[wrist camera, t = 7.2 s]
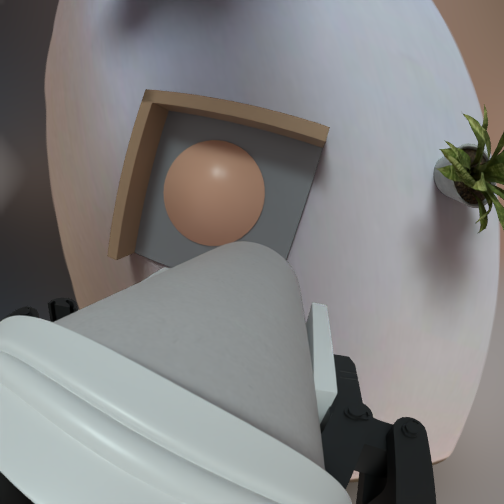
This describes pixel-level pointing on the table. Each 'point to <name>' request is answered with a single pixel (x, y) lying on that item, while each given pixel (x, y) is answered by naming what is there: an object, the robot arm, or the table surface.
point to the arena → (211, 177)
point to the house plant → (473, 172)
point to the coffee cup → (169, 392)
